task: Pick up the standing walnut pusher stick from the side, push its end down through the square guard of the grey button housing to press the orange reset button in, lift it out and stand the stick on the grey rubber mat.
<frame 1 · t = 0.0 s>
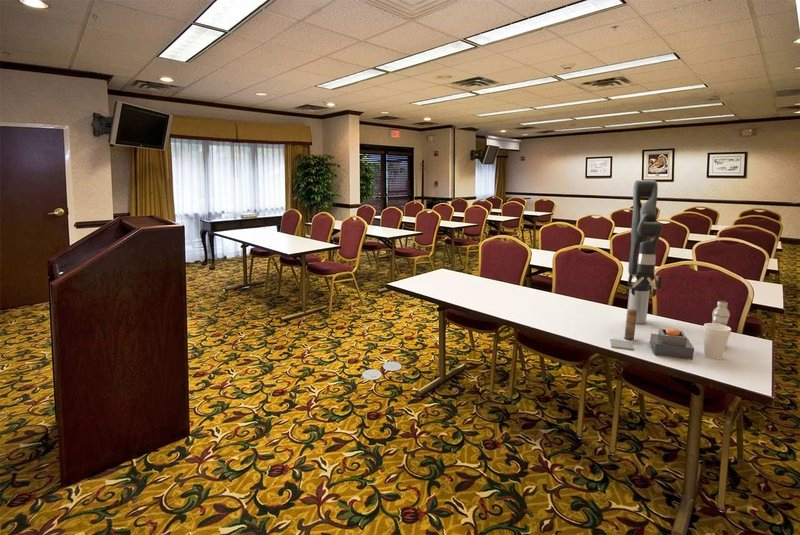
hand: (643, 295, 219), 17 cm above the table, tool pointing down, fingers open, 8 cm apart
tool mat: (621, 344, 201), on the table
grey button housing: (670, 351, 194), on the table
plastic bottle: (716, 344, 202), on the table
breaker button: (672, 332, 192), point 9 cm above the table, slide at 0.0 cm
foam cup: (713, 356, 189), on the table
pusher stick: (629, 338, 209), on the table
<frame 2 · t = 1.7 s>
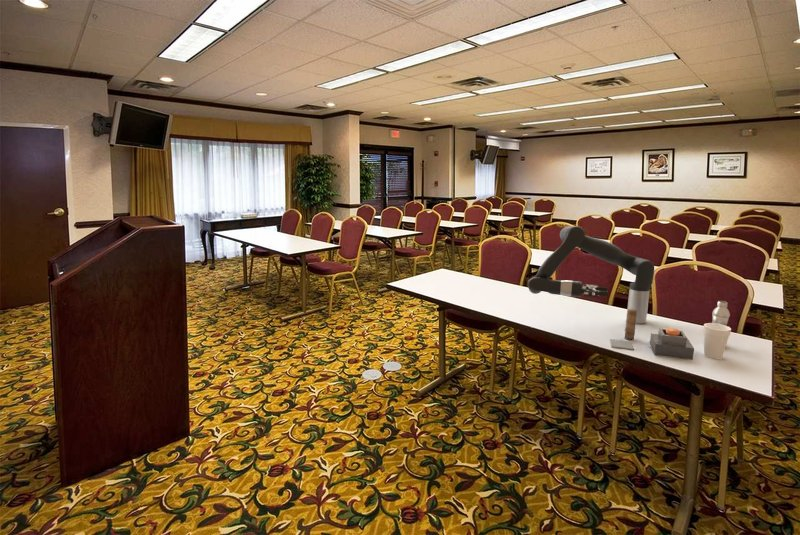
hand: (607, 291, 209), 22 cm above the table, tool horizontal, fingers open, 8 cm apart
nothing on the table moved.
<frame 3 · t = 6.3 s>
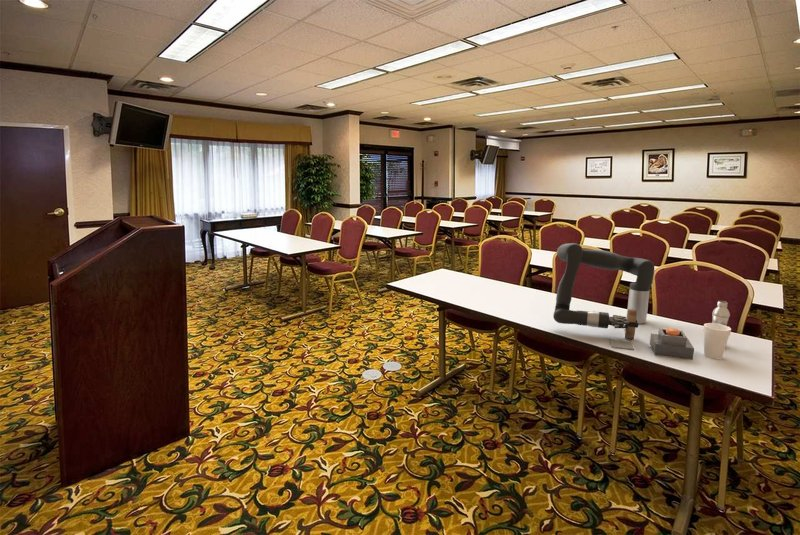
hand: (637, 323, 207), 8 cm above the table, tool horizontal, fingers closed on pusher stick, 4 cm apart
pusher stick: (629, 338, 209), on the table, touching gripper
everything else where it was.
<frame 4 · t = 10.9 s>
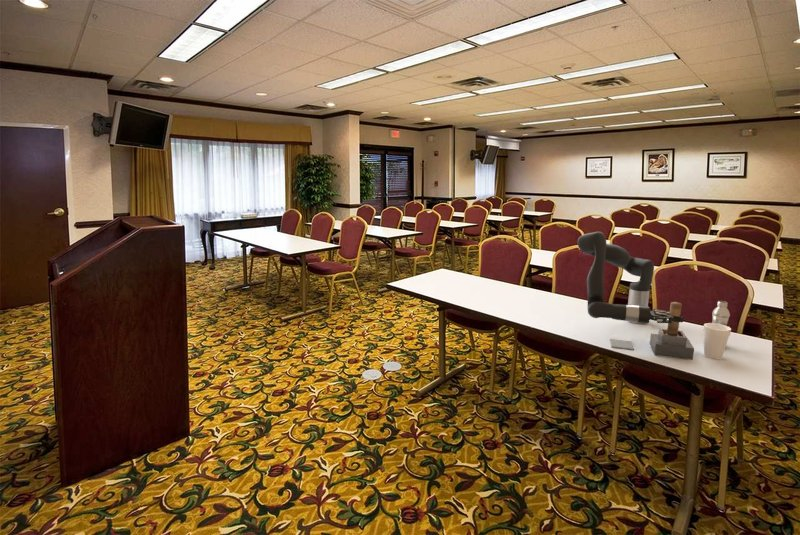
hand: (681, 318, 189), 16 cm above the table, tool horizontal, fingers closed on pusher stick, 4 cm apart
breaker button: (672, 337, 192), point 7 cm above the table, slide at 2.0 cm, touching pusher stick
pusher stick: (671, 334, 192), point 8 cm above the table, touching breaker button, gripper
everything else where it was.
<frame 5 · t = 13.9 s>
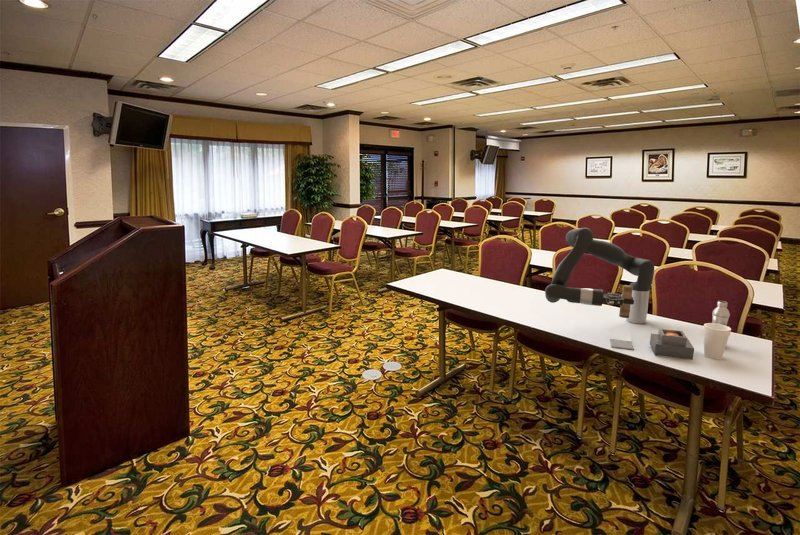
hand: (633, 300, 196), 21 cm above the table, tool horizontal, fingers closed on pusher stick, 4 cm apart
breaker button: (672, 337, 192), point 7 cm above the table, slide at 2.0 cm
pusher stick: (624, 316, 199), point 13 cm above the table, touching gripper
everything else where it was.
when the fingers open (9 cm above the table, at t = 16.3 s): pusher stick stays where it is, resting on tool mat.
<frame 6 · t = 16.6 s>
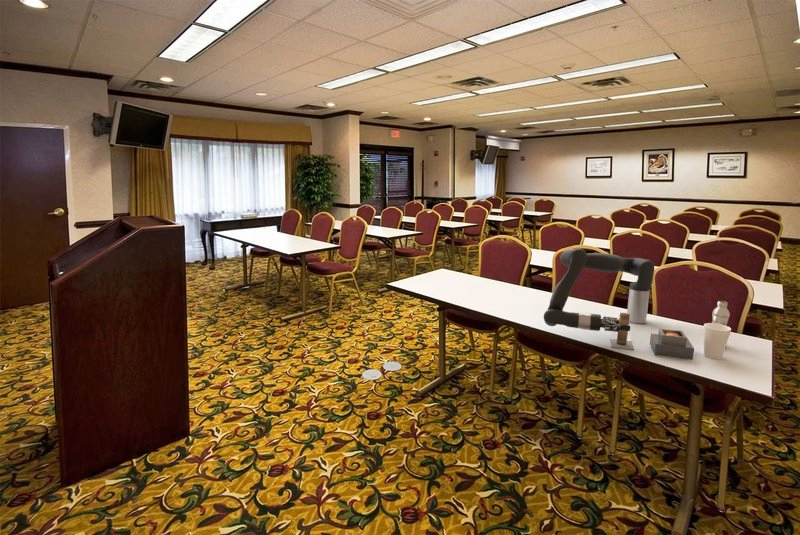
hand: (629, 325, 199), 9 cm above the table, tool horizontal, fingers open, 6 cm apart
pusher stick: (621, 343, 201), point 1 cm above the table, touching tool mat
everything else where it was.
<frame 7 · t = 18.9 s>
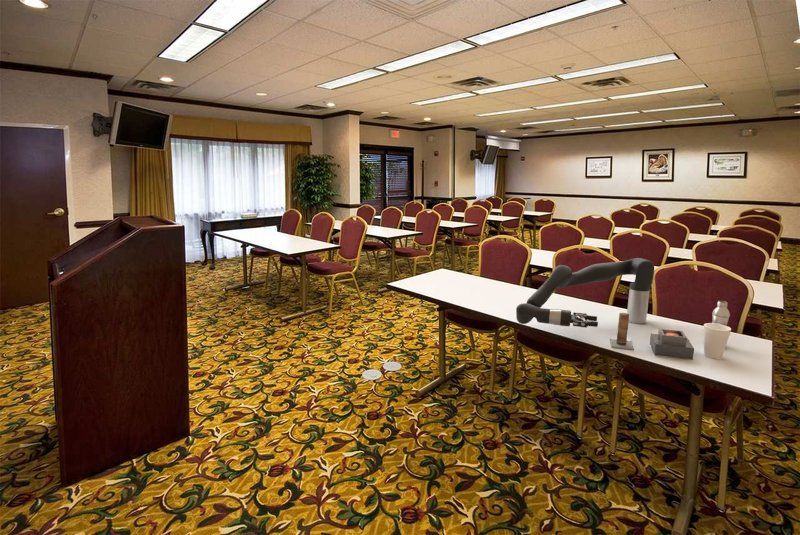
hand: (597, 321, 203), 10 cm above the table, tool horizontal, fingers open, 8 cm apart
nothing on the table moved.
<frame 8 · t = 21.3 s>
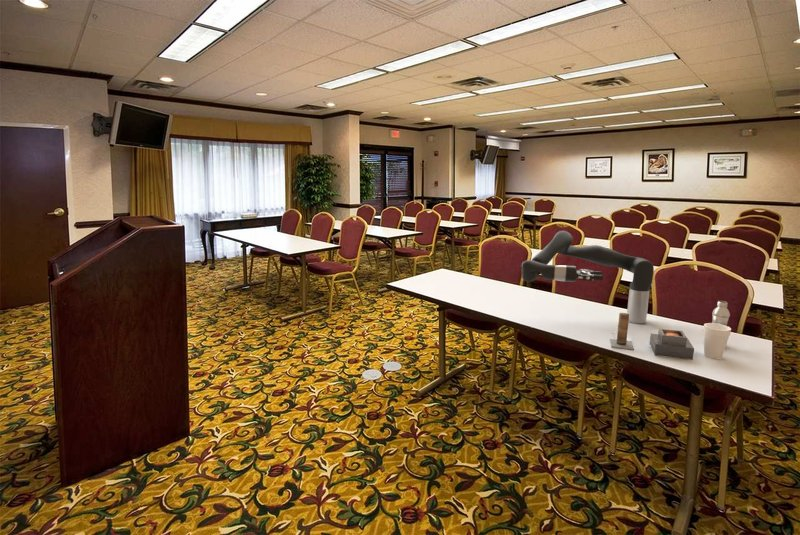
hand: (602, 275, 204), 30 cm above the table, tool horizontal, fingers open, 8 cm apart
nothing on the table moved.
at the end: breaker button slide at 2.0 cm; pusher stick inside the target area on the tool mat (0.2 cm from its centre), point 0.6 cm above the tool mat's base; pusher stick tilted 0° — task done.
